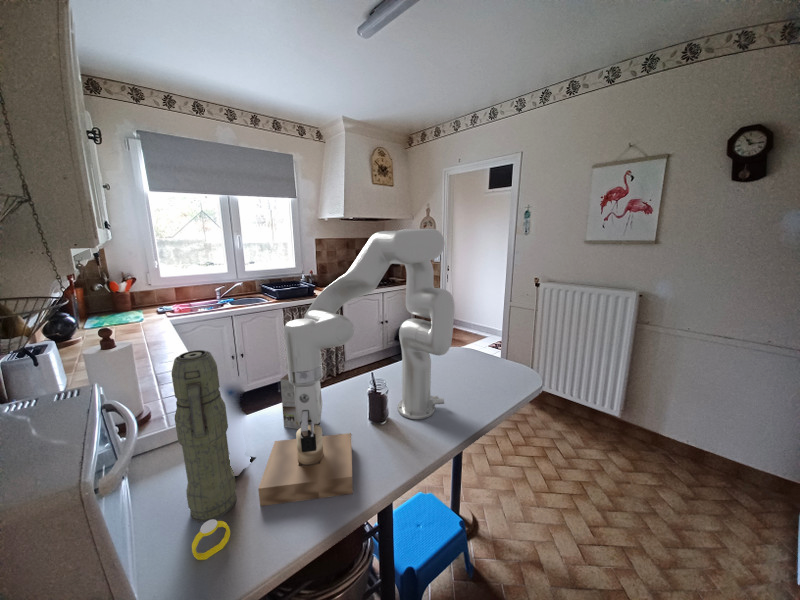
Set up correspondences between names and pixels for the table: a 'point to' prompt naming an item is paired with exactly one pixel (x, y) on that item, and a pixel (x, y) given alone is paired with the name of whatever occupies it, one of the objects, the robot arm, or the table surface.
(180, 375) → the thermos
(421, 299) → the robot arm
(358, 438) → the table surface
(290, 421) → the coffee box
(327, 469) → the board
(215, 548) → the watch
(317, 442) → the peg
